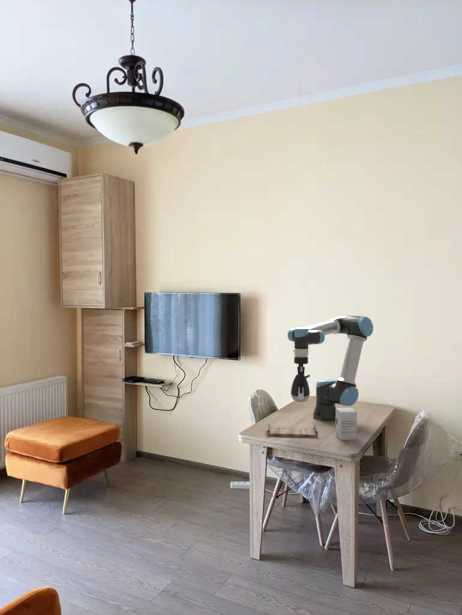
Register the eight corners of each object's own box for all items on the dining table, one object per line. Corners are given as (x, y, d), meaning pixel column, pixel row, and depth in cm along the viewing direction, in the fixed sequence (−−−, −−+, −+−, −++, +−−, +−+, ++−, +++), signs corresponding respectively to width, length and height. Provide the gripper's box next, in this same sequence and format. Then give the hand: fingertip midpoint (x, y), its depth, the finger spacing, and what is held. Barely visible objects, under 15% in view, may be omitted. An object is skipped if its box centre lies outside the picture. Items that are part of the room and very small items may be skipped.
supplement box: (334, 435, 259) (335, 407, 258) (351, 434, 259) (351, 407, 259) (340, 440, 250) (340, 411, 249) (356, 440, 250) (357, 411, 250)
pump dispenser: (312, 403, 256) (312, 374, 256) (293, 403, 255) (293, 375, 255) (307, 398, 267) (307, 371, 266) (288, 399, 265) (289, 371, 265)
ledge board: (315, 431, 266) (315, 424, 265) (317, 437, 254) (317, 431, 253) (268, 429, 268) (268, 423, 267) (268, 436, 256) (268, 429, 255)
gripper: (293, 353, 272) (293, 392, 273) (294, 358, 249) (293, 401, 250) (307, 353, 271) (306, 392, 272) (309, 359, 248) (308, 401, 249)
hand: (300, 396), depth 261 cm, fingers closed on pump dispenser, 10 cm apart
